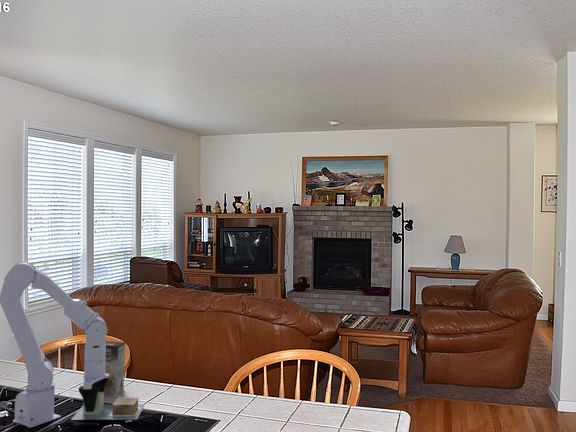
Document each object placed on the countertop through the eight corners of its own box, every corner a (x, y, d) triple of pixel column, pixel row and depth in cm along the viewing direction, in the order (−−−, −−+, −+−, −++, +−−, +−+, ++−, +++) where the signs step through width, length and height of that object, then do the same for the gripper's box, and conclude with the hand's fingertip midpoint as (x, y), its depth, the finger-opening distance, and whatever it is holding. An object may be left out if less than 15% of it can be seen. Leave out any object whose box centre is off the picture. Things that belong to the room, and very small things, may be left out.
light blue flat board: (70, 421, 144) (70, 419, 144) (83, 406, 156) (83, 404, 156) (136, 420, 146) (137, 418, 146) (145, 405, 158) (145, 404, 158)
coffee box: (88, 395, 166) (90, 344, 166) (98, 389, 173) (99, 340, 173) (116, 396, 165) (117, 346, 166) (124, 390, 172) (126, 341, 172)
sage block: (83, 414, 148) (83, 397, 148) (87, 409, 153) (88, 391, 153) (99, 414, 149) (99, 396, 149) (103, 409, 153) (104, 391, 153)
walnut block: (112, 415, 148) (112, 404, 148) (117, 408, 154) (117, 397, 154) (133, 415, 149) (134, 404, 149) (138, 407, 155) (138, 397, 155)
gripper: (102, 366, 144) (101, 415, 144) (115, 353, 158) (114, 398, 158) (76, 366, 143) (74, 416, 143) (91, 353, 158) (90, 398, 158)
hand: (93, 406), depth 151 cm, fingers open, 7 cm apart
